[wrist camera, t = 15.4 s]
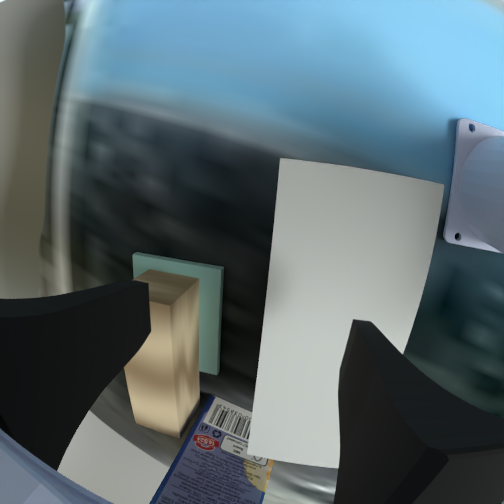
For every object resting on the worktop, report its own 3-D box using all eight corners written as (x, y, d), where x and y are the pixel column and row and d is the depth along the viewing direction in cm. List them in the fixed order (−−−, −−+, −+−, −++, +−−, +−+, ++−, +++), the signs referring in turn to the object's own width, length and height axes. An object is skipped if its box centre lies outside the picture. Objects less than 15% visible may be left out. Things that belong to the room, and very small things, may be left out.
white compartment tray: (407, 176, 17) (444, 184, 11) (350, 407, 22) (349, 469, 16) (295, 159, 18) (280, 158, 12) (266, 394, 24) (246, 454, 18)
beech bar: (199, 404, 25) (180, 439, 21) (159, 391, 26) (135, 422, 22) (199, 278, 21) (170, 305, 17) (149, 268, 22) (113, 292, 18)
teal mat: (224, 266, 21) (221, 269, 21) (219, 371, 24) (217, 375, 24) (136, 252, 23) (132, 254, 22) (143, 350, 25) (140, 353, 25)
